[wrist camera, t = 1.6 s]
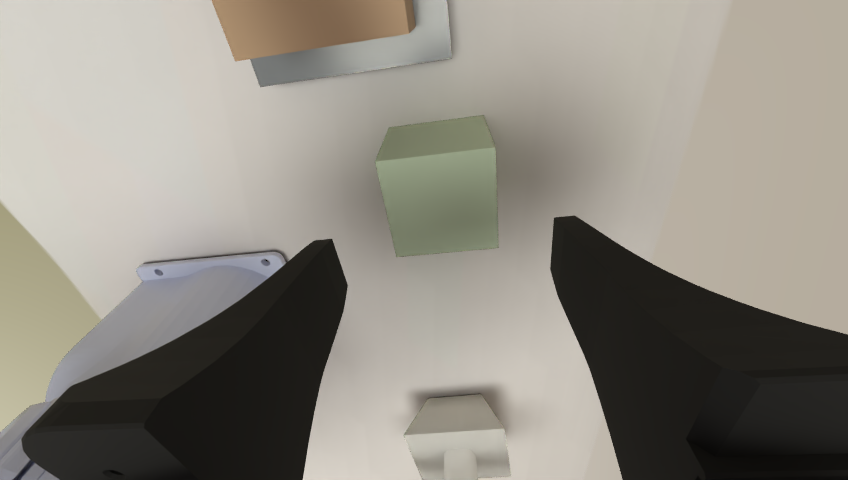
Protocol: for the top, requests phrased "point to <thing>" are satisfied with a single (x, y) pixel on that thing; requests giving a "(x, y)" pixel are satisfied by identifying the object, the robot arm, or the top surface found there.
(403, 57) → the base tile
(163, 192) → the top surface
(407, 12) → the walnut block
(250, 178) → the top surface
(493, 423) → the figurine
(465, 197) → the green cube
